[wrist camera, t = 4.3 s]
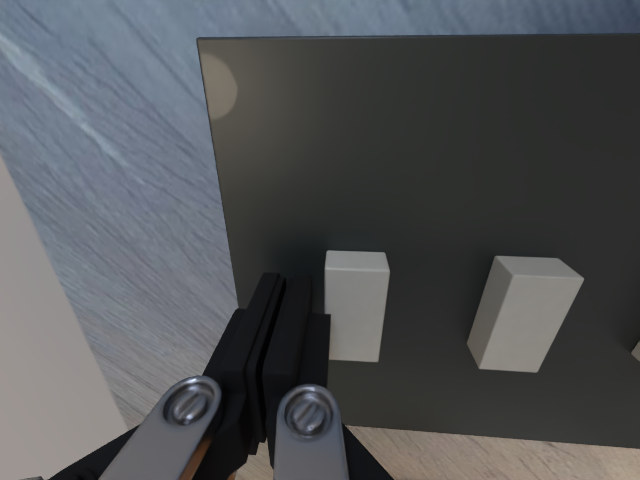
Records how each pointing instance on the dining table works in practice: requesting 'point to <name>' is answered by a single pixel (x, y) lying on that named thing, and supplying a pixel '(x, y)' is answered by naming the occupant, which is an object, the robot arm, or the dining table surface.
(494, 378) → the slate board
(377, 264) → the beige block
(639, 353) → the white rectangular block
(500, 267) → the chalk
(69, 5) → the dining table surface
